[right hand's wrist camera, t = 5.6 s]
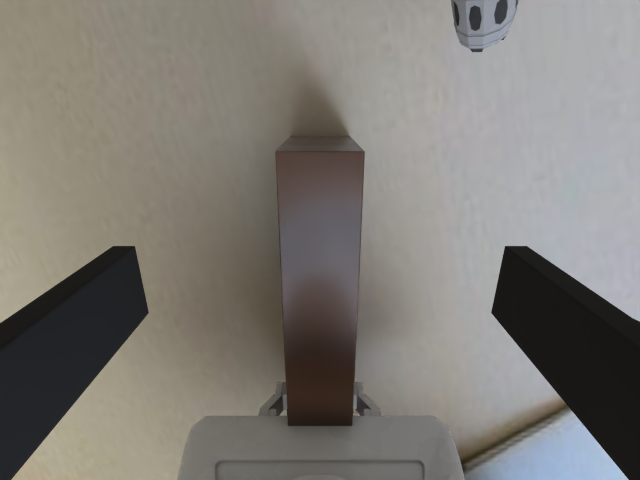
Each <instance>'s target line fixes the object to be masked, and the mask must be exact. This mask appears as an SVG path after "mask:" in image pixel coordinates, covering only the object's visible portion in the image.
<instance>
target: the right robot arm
mask: <svg viewBox="0 0 640 480" xmlns="http://www.w3.org/2000/svg"><path fill="white" fill-rule="evenodd" d="M148 313H149V312H148V308H147V303H146V298H145V293H144V288H143V283H142V279H141V274H140V269H139V264H138V259H137V254H136V249H135V246H113V247H111V248H110V249H108V250H107V251H106V252H104V253H103V254H101V255H100V256H98V257H97V258H95V259H94V260H92V261H91V262H89V263H88V264H86V265H85V266H84V267H82V268H81V269H79V270H78V271H76V272H75V273H73V274H72V275H70V276H69V277H67V278H66V279H64V280H63V281H62V282H60V283H59V284H57V285H56V286H54V287H53V288H51V289H50V290H48V291H47V292H45V293H44V294H43V295H41V296H40V297H38V298H37V299H35V300H34V301H32V302H31V303H29V304H28V305H26V306H25V307H23V308H22V309H21V310H19V311H18V312H16V313H15V314H13V315H12V316H10V317H9V318H7V319H6V320H4V321H3V322H2V323H0V480H11V479H12V478H13V477H14V476H15V474H16V473H17V472H18V471H19V470H20V468H21V467H22V466H23V465H24V463H25V462H26V461H27V460H28V459H29V457H30V456H31V455H32V454H33V453H34V451H35V450H36V449H37V448H38V446H39V445H40V444H41V443H42V442H43V440H44V439H45V438H46V437H47V436H48V434H49V433H50V432H51V431H52V429H53V428H54V427H55V426H56V425H57V423H58V422H59V421H60V420H61V419H62V417H63V416H64V415H65V414H66V413H67V411H68V410H69V409H70V408H71V406H72V405H73V404H74V403H75V402H76V400H77V399H78V398H79V397H80V396H81V394H82V393H83V392H84V391H85V389H86V388H87V387H88V386H89V385H90V383H91V382H92V381H93V380H94V379H95V377H96V376H97V375H98V374H99V372H100V371H101V370H102V369H103V368H104V366H105V365H106V364H107V363H108V362H109V360H110V359H111V358H112V357H113V356H114V354H115V353H116V352H117V351H118V349H119V348H120V347H121V346H122V345H123V343H124V342H125V341H126V340H127V339H128V337H129V336H130V335H131V334H132V332H133V331H134V330H135V329H136V328H137V326H138V325H139V324H140V323H141V322H142V320H143V319H144V318H145V317H146V315H147V314H148ZM491 313H492V314H493V315H494V317H495V318H496V319H497V320H498V322H499V323H500V324H501V325H502V326H503V328H504V329H505V330H506V331H507V332H508V334H509V335H510V336H511V337H512V339H513V340H514V341H515V342H516V343H517V345H518V346H519V347H520V348H521V349H522V351H523V352H524V353H525V354H526V356H527V357H528V358H529V359H530V360H531V362H532V363H533V364H534V365H535V366H536V368H537V369H538V370H539V371H540V372H541V374H542V375H543V376H544V377H545V379H546V380H547V381H548V382H549V383H550V385H551V386H552V387H553V388H554V389H555V391H556V392H557V393H558V394H559V396H560V397H561V398H562V399H563V400H564V402H565V403H566V404H567V405H568V406H569V408H570V409H571V410H572V411H573V413H574V414H575V415H576V416H577V417H578V419H579V420H580V421H581V422H582V423H583V425H584V426H585V427H586V428H587V429H588V431H589V432H590V433H591V434H592V436H593V437H594V438H595V439H596V440H597V442H598V443H599V444H600V445H601V446H602V448H603V449H604V450H605V451H606V453H607V454H608V455H609V456H610V457H611V459H612V460H613V461H614V462H615V463H616V465H617V466H618V467H619V468H620V470H621V471H622V472H623V473H624V474H625V476H626V477H627V478H628V479H629V480H640V322H639V321H637V320H635V319H633V318H631V317H630V316H628V315H627V314H625V313H624V312H622V311H621V310H619V309H618V308H617V307H615V306H614V305H612V304H611V303H609V302H608V301H606V300H605V299H603V298H602V297H600V296H599V295H597V294H596V293H595V292H593V291H592V290H590V289H589V288H587V287H586V286H584V285H583V284H581V283H580V282H578V281H577V280H575V279H574V278H573V277H571V276H570V275H568V274H567V273H565V272H564V271H562V270H561V269H559V268H558V267H556V266H555V265H554V264H552V263H551V262H549V261H548V260H546V259H545V258H543V257H542V256H540V255H539V254H537V253H536V252H534V251H533V250H532V249H530V248H529V247H527V246H505V249H504V254H503V259H502V264H501V269H500V274H499V279H498V283H497V288H496V293H495V298H494V303H493V308H492V312H491Z"/></svg>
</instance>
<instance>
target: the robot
mask: <svg viewBox="0 0 640 480" xmlns="http://www.w3.org/2000/svg"><path fill="white" fill-rule="evenodd" d="M451 2H452V11H453V17H454V25H455V29H456V32H457V35H458V38H459V41H460V43H461V45H463V46H465V47H467V48H469V49H470V50H471V51H472V52H482V50H483V48H486V47H488V46H491V45H494V44H497V43H498V42H499V41H500V40H503V39H504V38H505V37H506V35H507V33H508V31H509V28H510V25H511V23H512V20H513V18H514V15H515V13H516V10H517V5H518V0H451Z"/></svg>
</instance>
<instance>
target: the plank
mask: <svg viewBox="0 0 640 480" xmlns="http://www.w3.org/2000/svg"><path fill="white" fill-rule="evenodd" d="M364 156H365V152H364V151H363V150H362V149H361V148H360V146H359V145H358V144H357V143H356V142H355V141H354V140H353V139H352V138H351V137H350V136H290V137H289V138H288V139H287V140H286V141H285V142H284V144H283V145H282V146H281V147H280V148H279V149H278V150H277V151H276V173H277V196H278V218H279V240H280V263H281V285H282V307H283V329H284V352H285V374H286V396H287V419H288V426H352V422H353V400H354V378H355V356H356V333H357V311H358V289H359V267H360V245H361V223H362V200H363V178H364Z"/></svg>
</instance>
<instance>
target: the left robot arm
mask: <svg viewBox="0 0 640 480" xmlns="http://www.w3.org/2000/svg"><path fill="white" fill-rule="evenodd" d="M283 409H287V396H286V382H277V388H276V394H275V395H273V396H272V397H271V398H270V399H269V400H268V401H267V402H266V403H265V404H264V405H263V406H262V407H261V408H260V412H259V416H206V417H204V418H203V419H201V420H200V421H199V422H197V423H196V424H195V425H194V426H193V427H192V428H191V430H190V433H189V436H188V439H187V442H186V445H185V448H184V452H183V456H182V460H181V464H180V468H179V473H178V478H177V480H464V474H463V470H462V466H461V462H460V458H459V455H458V451H457V448H456V445H455V442H454V439H453V436H452V434H451V432H450V429H449V428H448V426H447V425H445V424H444V423H443V422H442V421H440V420H439V419H438V418H436V417H434V416H381V413H380V409H379V408H378V406H377V405H376V404H375V403H374V402H373V401H372V400H371V399H370V398H369V397H368V396H367V395H364V390H363V383H362V382H354V400H353V409H356V410H357V411H358V413H359V414H360V415H361V416H353V422H352V426H288V419H287V416H279V415H280V414H281V412H282V411H283Z"/></svg>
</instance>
